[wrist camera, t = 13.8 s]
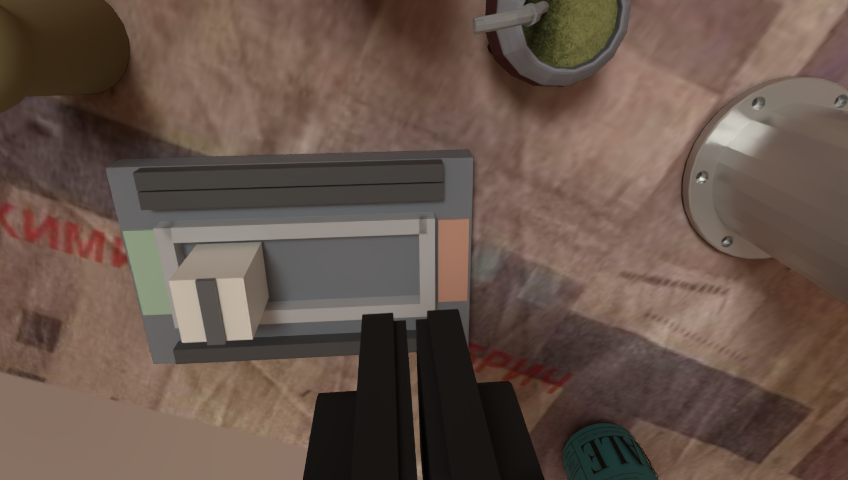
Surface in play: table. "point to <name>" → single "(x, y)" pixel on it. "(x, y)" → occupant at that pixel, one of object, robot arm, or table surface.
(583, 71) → the mate gourd
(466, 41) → the table surface
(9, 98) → the olive brown pawn
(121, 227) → the panel
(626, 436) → the beverage bottle
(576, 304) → the table surface
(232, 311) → the toggle
